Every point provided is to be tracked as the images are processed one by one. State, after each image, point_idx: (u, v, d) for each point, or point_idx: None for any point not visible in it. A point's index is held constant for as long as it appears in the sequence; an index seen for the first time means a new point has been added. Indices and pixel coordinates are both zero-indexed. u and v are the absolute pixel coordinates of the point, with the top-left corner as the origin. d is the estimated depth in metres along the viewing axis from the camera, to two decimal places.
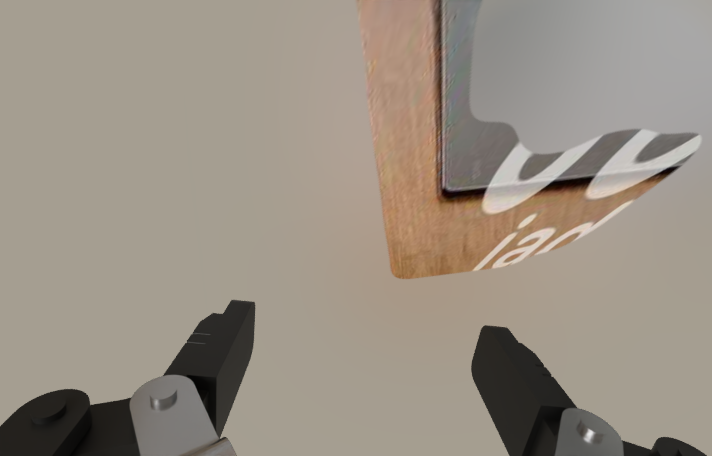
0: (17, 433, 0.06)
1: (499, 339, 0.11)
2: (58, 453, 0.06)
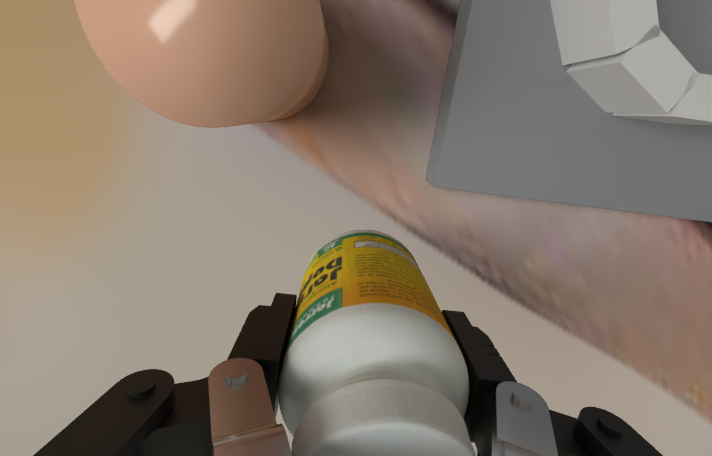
0: (116, 402, 0.07)
1: (453, 322, 0.12)
2: (143, 428, 0.07)
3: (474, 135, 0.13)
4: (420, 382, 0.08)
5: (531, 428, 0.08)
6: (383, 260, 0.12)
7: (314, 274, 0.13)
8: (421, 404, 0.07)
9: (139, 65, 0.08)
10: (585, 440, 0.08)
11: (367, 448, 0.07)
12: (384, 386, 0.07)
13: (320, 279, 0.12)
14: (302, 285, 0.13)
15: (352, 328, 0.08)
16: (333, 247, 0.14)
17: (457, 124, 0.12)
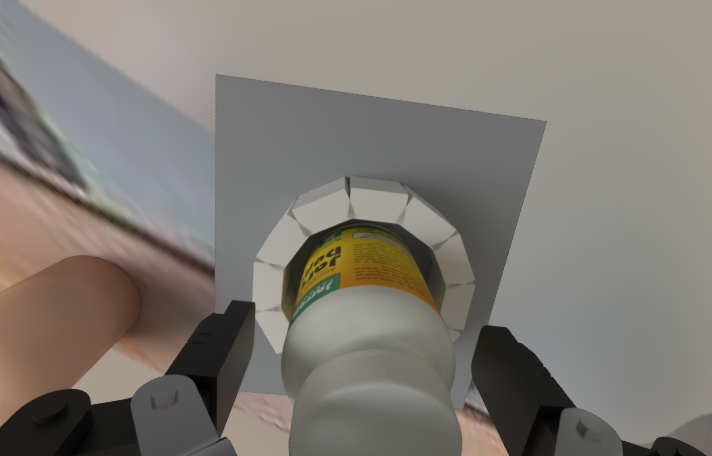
0: (18, 432, 0.06)
1: (499, 339, 0.11)
2: (59, 453, 0.06)
3: None
4: (408, 353, 0.09)
5: None
6: (379, 249, 0.13)
7: (315, 262, 0.13)
8: (408, 370, 0.08)
9: None
10: None
11: (359, 406, 0.07)
12: (375, 355, 0.08)
13: (320, 266, 0.12)
14: (304, 273, 0.14)
15: (348, 306, 0.09)
16: (333, 238, 0.15)
17: None
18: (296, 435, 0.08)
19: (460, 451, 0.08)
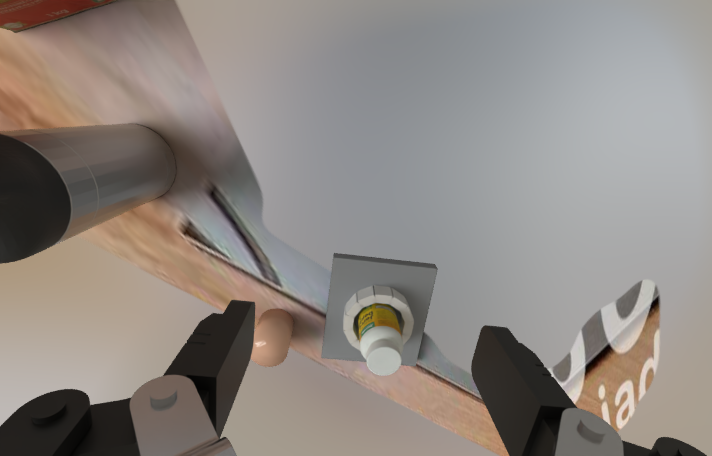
0: (17, 433, 0.06)
1: (499, 339, 0.11)
2: (58, 453, 0.06)
3: (330, 346, 0.50)
4: (391, 341, 0.40)
5: None
6: (384, 313, 0.44)
7: (364, 316, 0.45)
8: (390, 345, 0.39)
9: (257, 358, 0.45)
10: None
11: (381, 351, 0.39)
12: (383, 342, 0.40)
13: (367, 318, 0.44)
14: (360, 318, 0.46)
15: (377, 331, 0.41)
16: (369, 306, 0.46)
17: (325, 344, 0.50)
18: (368, 357, 0.39)
19: None
